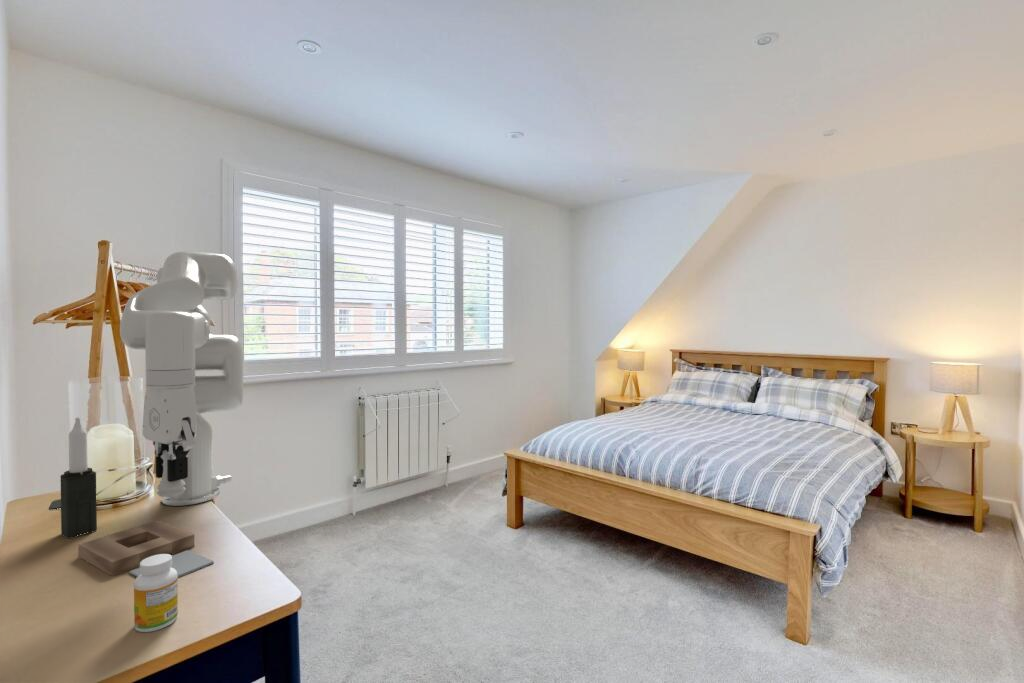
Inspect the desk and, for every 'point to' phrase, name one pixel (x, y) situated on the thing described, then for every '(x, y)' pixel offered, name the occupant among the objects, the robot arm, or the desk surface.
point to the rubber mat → (184, 563)
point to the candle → (78, 488)
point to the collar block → (134, 546)
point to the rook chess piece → (165, 486)
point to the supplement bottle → (155, 594)
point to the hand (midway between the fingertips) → (171, 476)
